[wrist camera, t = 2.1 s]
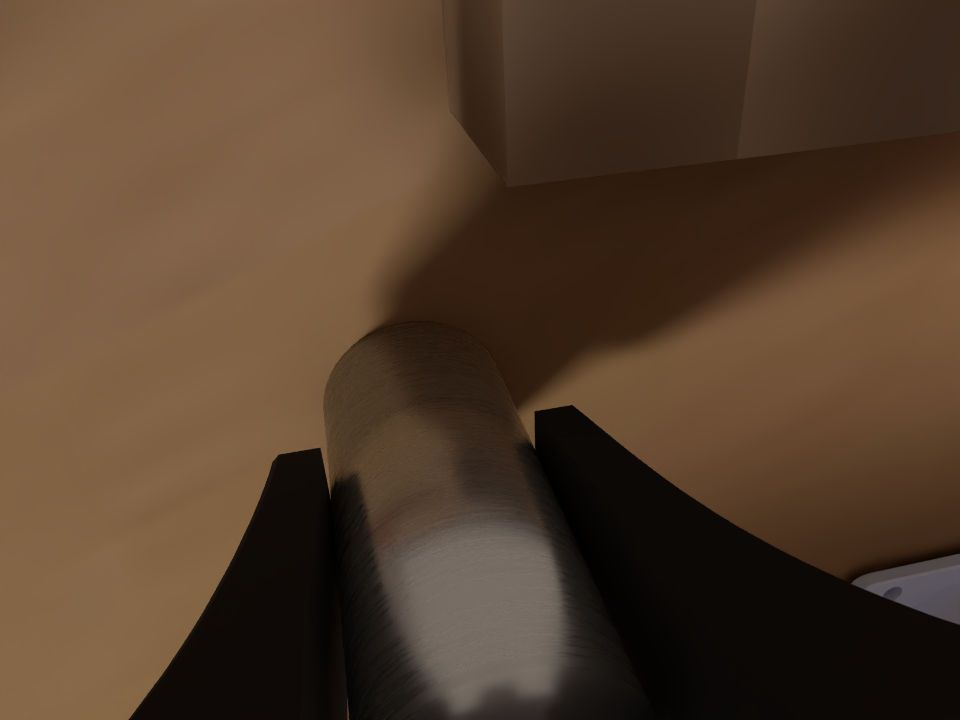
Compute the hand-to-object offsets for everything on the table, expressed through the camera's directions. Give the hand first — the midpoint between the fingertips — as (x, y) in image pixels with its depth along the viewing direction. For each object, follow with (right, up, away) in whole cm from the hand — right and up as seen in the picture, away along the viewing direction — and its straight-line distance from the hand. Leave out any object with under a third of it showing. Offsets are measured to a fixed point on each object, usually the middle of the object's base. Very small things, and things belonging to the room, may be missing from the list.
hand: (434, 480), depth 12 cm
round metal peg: (0, +1, +2) cm, 2 cm away
